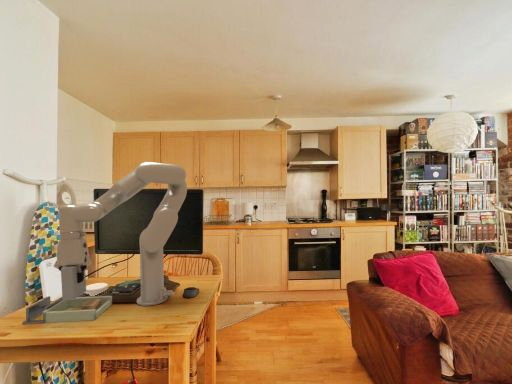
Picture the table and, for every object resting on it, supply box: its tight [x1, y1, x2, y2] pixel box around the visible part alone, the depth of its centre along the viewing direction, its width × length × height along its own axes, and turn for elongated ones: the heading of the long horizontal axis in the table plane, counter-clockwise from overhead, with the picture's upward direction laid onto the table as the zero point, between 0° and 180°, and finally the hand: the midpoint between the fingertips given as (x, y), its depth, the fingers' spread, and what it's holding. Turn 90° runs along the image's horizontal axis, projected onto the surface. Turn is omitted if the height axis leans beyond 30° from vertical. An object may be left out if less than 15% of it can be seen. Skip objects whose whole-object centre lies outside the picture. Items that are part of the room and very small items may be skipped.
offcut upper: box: [80, 299, 101, 310], centre depth 109 cm, size 4×7×2 cm, turn 9°
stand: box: [21, 295, 63, 325], centre depth 108 cm, size 7×16×5 cm, turn 5°
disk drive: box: [109, 280, 140, 294], centre depth 135 cm, size 10×3×15 cm
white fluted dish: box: [83, 282, 109, 297], centre depth 132 cm, size 10×10×4 cm
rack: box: [42, 295, 113, 324], centre depth 109 cm, size 18×15×4 cm
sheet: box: [60, 262, 87, 301], centre depth 109 cm, size 4×9×12 cm, turn 5°
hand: (74, 282), depth 109 cm, fingers closed on sheet, 4 cm apart
